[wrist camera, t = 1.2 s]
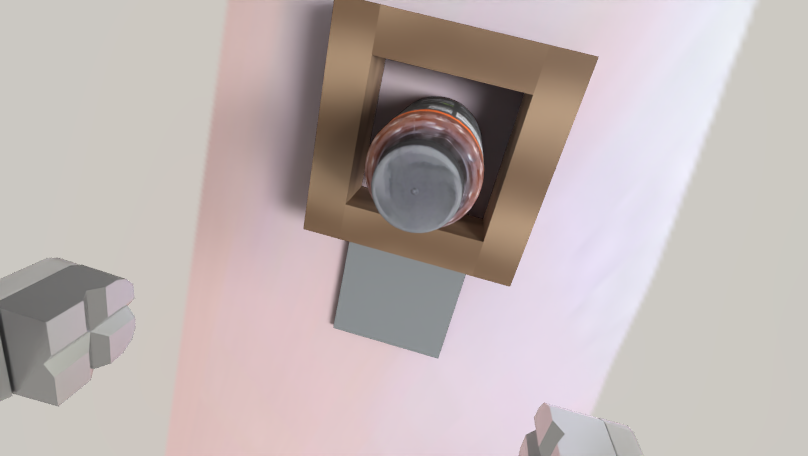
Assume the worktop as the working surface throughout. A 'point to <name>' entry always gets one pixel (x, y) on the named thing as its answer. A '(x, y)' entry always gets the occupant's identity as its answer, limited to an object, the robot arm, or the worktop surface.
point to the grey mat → (397, 299)
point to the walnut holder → (461, 56)
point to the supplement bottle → (426, 165)
